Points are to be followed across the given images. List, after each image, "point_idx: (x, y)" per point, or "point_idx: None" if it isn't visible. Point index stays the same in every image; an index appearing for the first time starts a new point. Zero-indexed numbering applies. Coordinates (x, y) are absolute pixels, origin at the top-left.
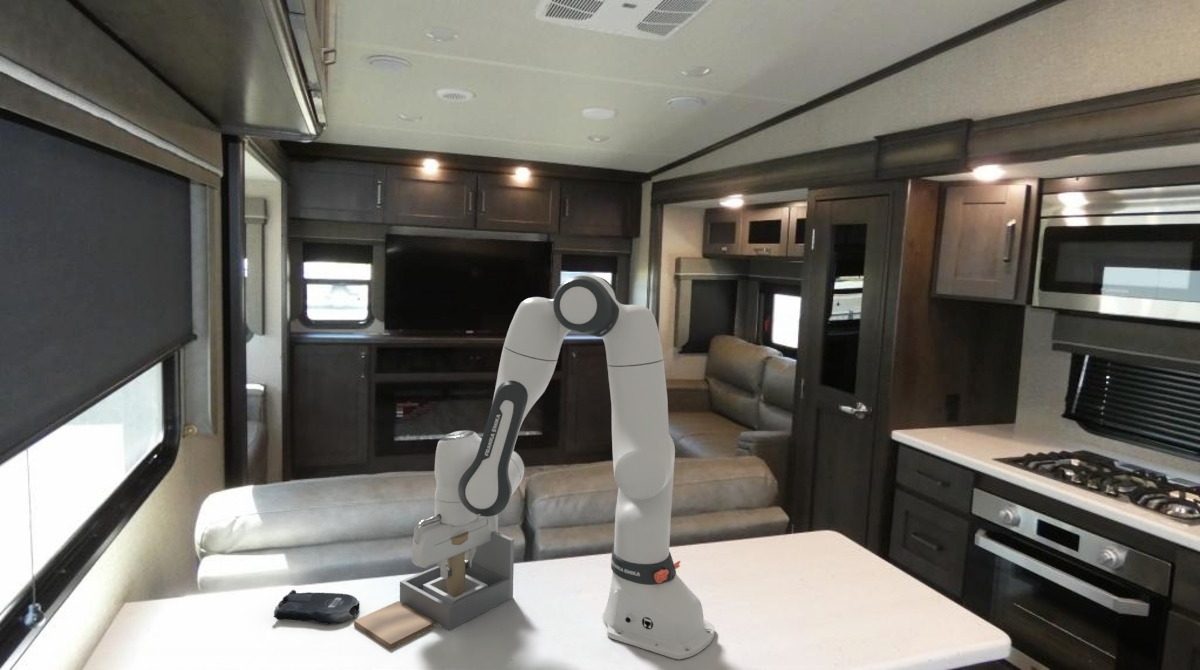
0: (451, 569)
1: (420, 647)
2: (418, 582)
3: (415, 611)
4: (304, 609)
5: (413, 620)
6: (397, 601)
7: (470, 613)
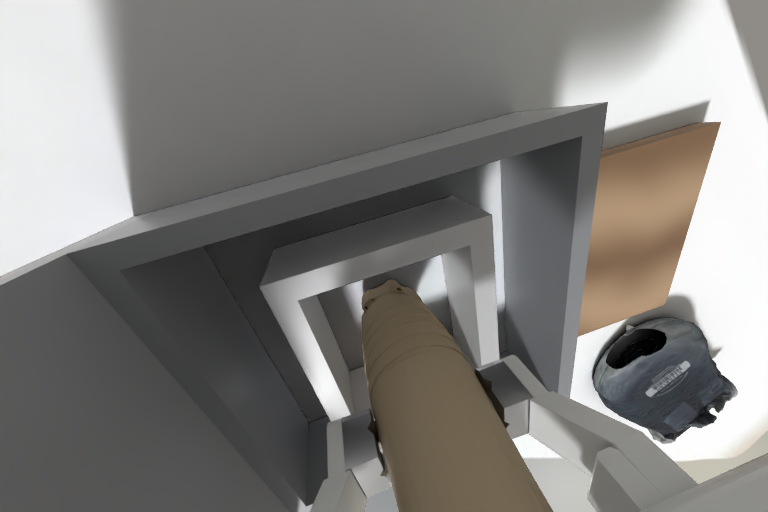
0: (500, 404)
1: (646, 64)
2: None
3: None
4: (710, 374)
5: None
6: None
7: (414, 143)
